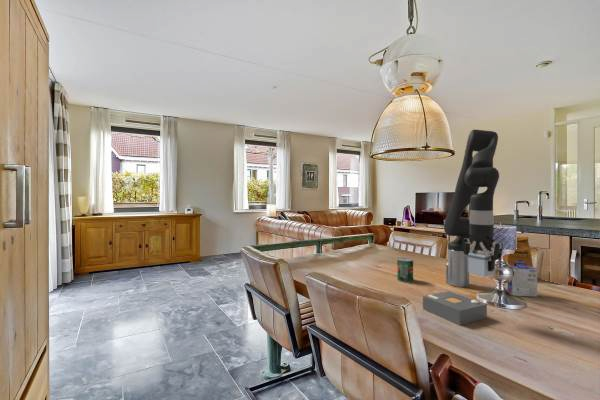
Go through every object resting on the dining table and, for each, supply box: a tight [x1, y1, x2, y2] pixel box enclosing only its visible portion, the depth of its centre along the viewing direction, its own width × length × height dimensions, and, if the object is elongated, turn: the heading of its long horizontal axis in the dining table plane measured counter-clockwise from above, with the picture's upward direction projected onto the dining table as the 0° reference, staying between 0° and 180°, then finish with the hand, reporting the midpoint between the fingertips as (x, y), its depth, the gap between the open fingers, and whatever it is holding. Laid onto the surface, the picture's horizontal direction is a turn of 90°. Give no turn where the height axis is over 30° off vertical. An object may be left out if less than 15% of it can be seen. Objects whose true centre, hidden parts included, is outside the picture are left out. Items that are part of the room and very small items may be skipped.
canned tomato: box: [396, 257, 414, 283], centre depth 155 cm, size 8×8×11 cm
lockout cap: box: [468, 251, 496, 277], centre depth 108 cm, size 6×6×7 cm
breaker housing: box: [422, 291, 488, 326], centre depth 111 cm, size 16×14×6 cm
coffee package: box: [504, 236, 533, 267], centre depth 157 cm, size 10×12×22 cm
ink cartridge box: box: [506, 261, 538, 297], centre depth 131 cm, size 10×6×14 cm, turn 78°
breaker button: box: [444, 298, 463, 303], centre depth 111 cm, size 4×4×5 cm
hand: (481, 268), depth 108 cm, fingers closed on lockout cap, 6 cm apart
